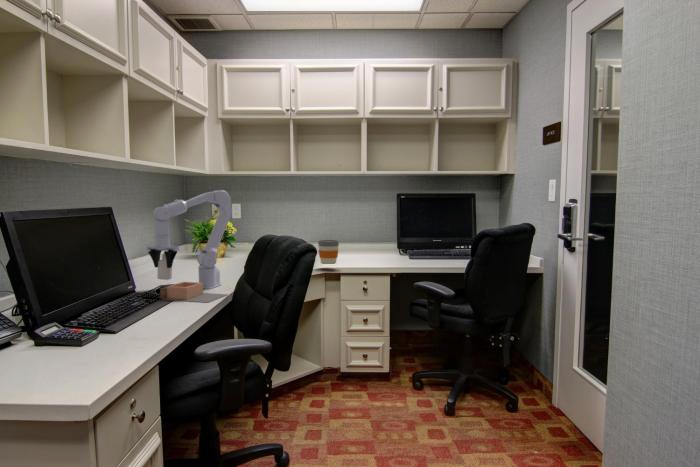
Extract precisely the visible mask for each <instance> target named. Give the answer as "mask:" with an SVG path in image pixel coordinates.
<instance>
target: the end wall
mask: <svg viewBox="0 0 700 467" xmlns="http://www.w3.org/2000/svg"><path fill="white" fill-rule="evenodd" d="M159 294H160V295H159V296H160V297H159V298H161V299H160V300H164V299H166V298H167V286H164V287H161V288H159Z"/></svg>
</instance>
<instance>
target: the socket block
mask: <svg viewBox="0 0 700 467" xmlns="http://www.w3.org/2000/svg"><path fill="white" fill-rule="evenodd" d="M166 287H167V298H174V299H189V298H192V297H195V296H198V295H201V294H203V293H204V289H203V283H199V282H193V281H182V282H178V283H175V284H171V285H168V286H166Z"/></svg>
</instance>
